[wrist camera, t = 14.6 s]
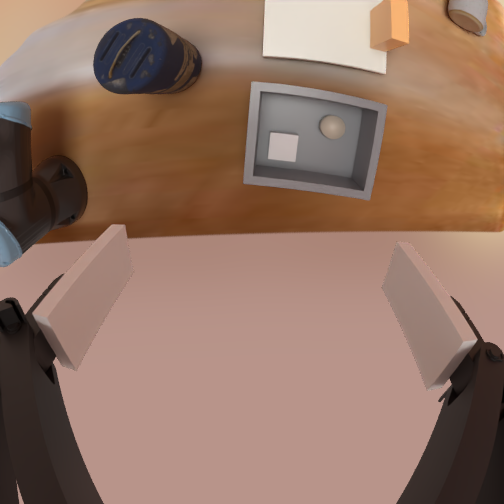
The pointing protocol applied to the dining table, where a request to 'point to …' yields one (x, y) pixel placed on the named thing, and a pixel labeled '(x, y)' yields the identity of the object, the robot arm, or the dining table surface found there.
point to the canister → (145, 59)
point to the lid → (336, 31)
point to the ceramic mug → (469, 14)
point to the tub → (312, 140)
